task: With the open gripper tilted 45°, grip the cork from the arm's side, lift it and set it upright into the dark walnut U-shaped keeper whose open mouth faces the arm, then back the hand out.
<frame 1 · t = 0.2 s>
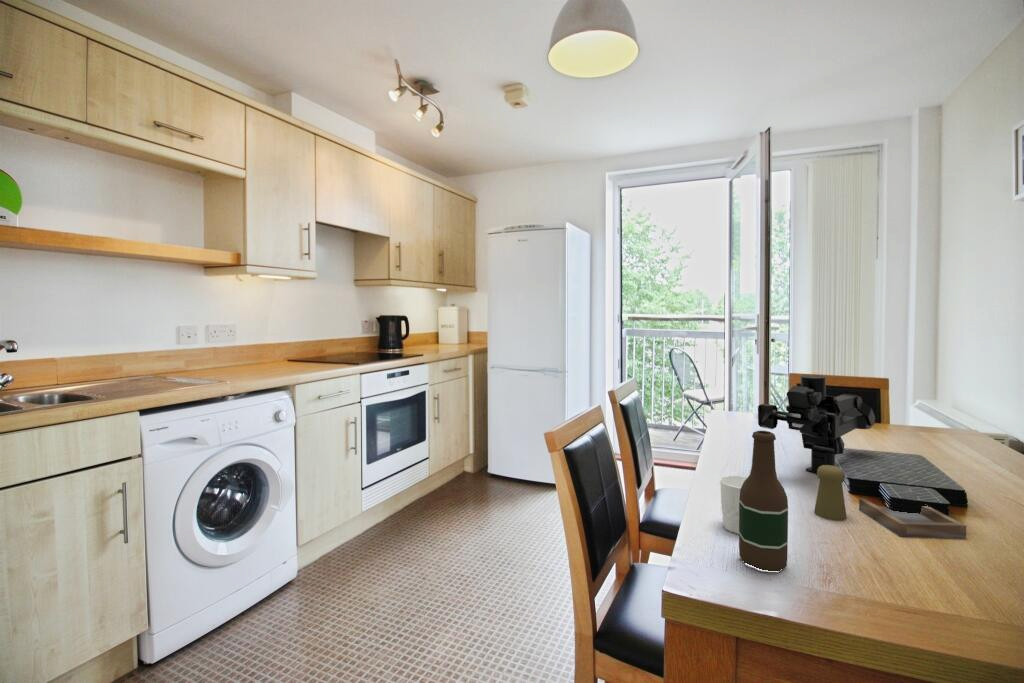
hand: (780, 427, 118), 17 cm above the table, tool horizontal, fingers open, 9 cm apart
cork: (830, 515, 105), on the table
white cup: (740, 529, 99), on the table
keeper: (906, 521, 101), on the table
beer bottle: (762, 563, 85), on the table
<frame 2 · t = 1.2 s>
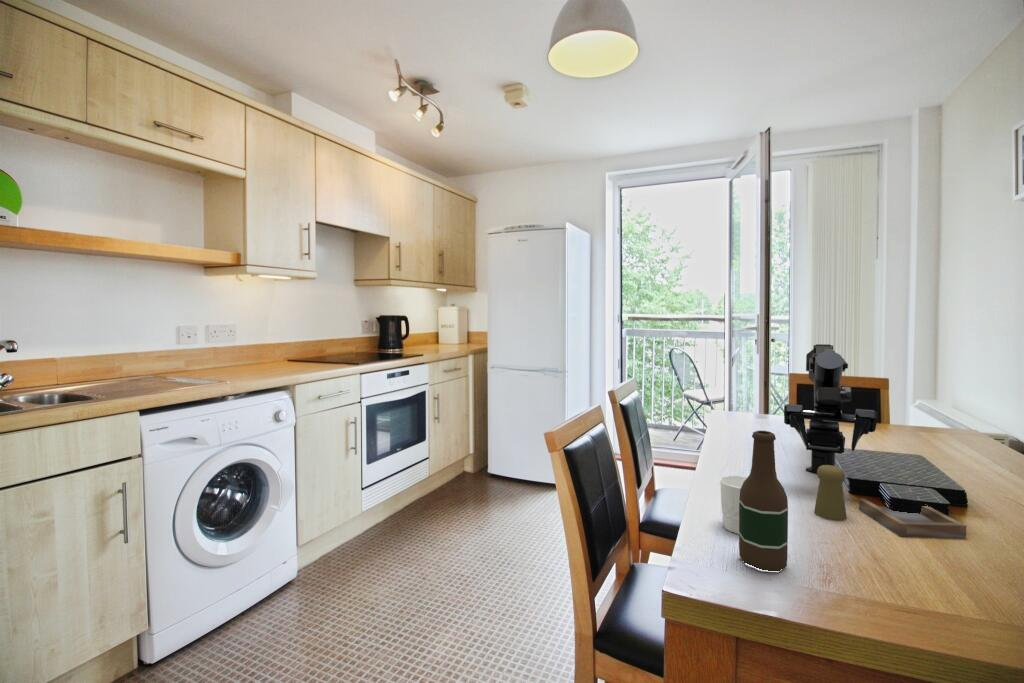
hand: (829, 447, 111), 13 cm above the table, tool tilted 45°, fingers open, 9 cm apart
nothing on the table moved.
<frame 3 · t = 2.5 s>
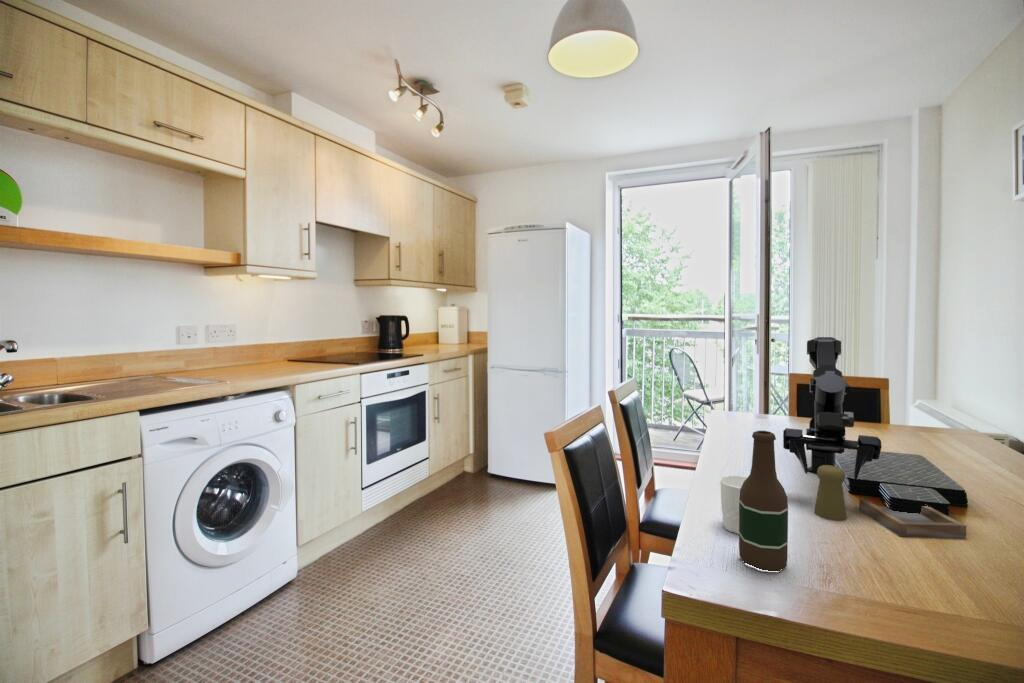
hand: (830, 475, 105), 9 cm above the table, tool tilted 45°, fingers open, 9 cm apart
nothing on the table moved.
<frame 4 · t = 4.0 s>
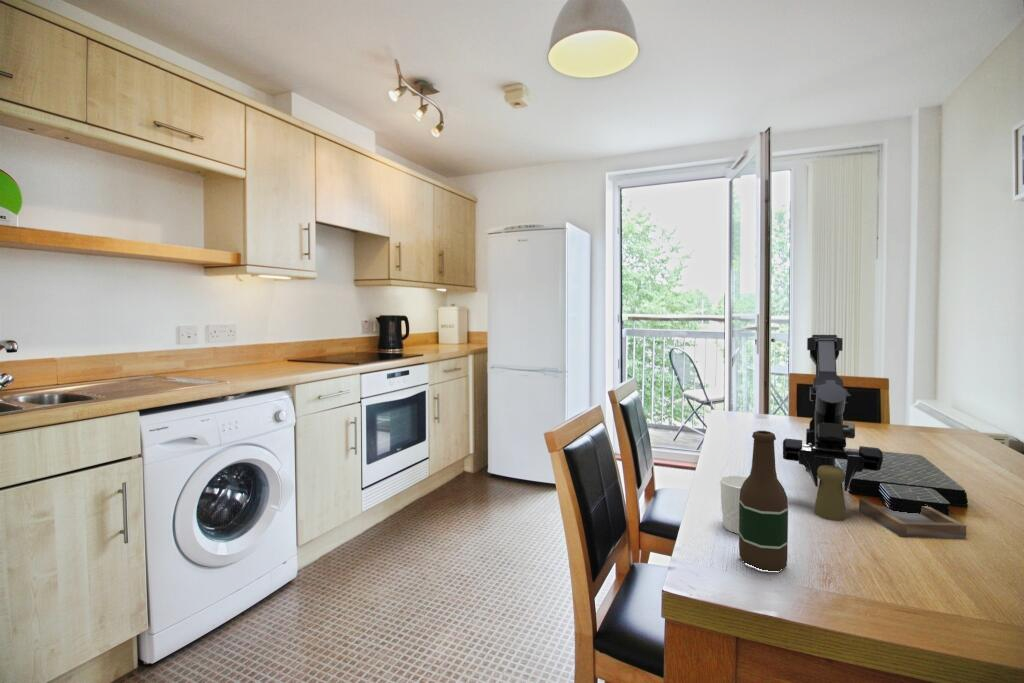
hand: (831, 487, 103), 7 cm above the table, tool tilted 45°, fingers closed on cork, 5 cm apart
cork: (830, 515, 105), on the table, touching gripper
everything else where it was.
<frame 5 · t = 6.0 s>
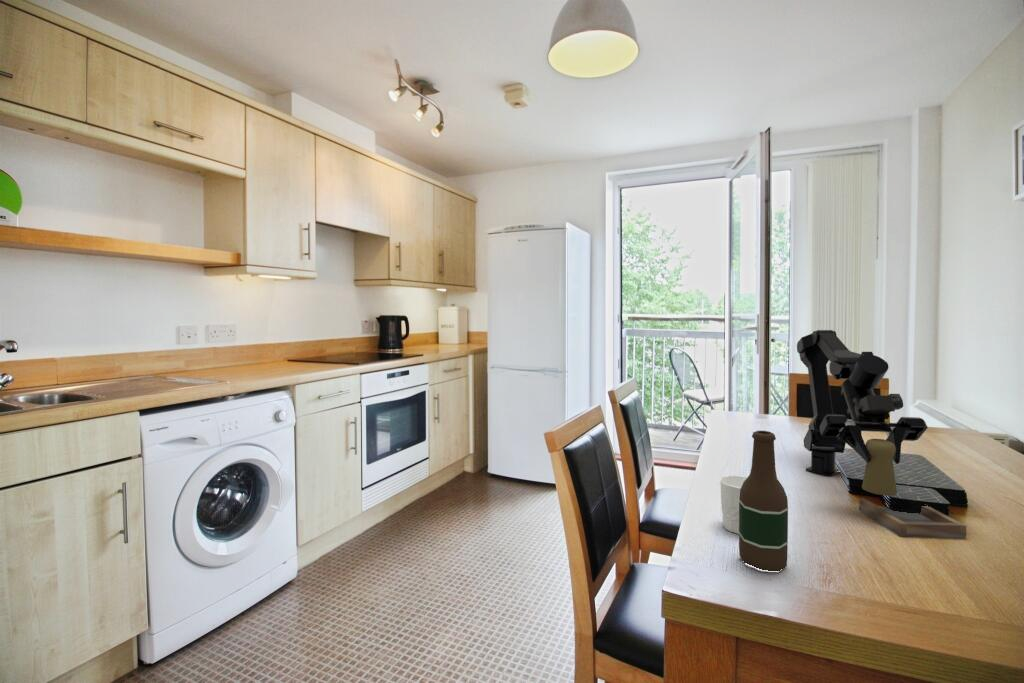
hand: (883, 462, 100), 13 cm above the table, tool tilted 45°, fingers closed on cork, 5 cm apart
cork: (879, 491, 101), point 6 cm above the table, touching gripper
everything else where it was.
when the fingers open (8 cm above the table, at t = 8.2 s): cork stays where it is, resting on keeper.
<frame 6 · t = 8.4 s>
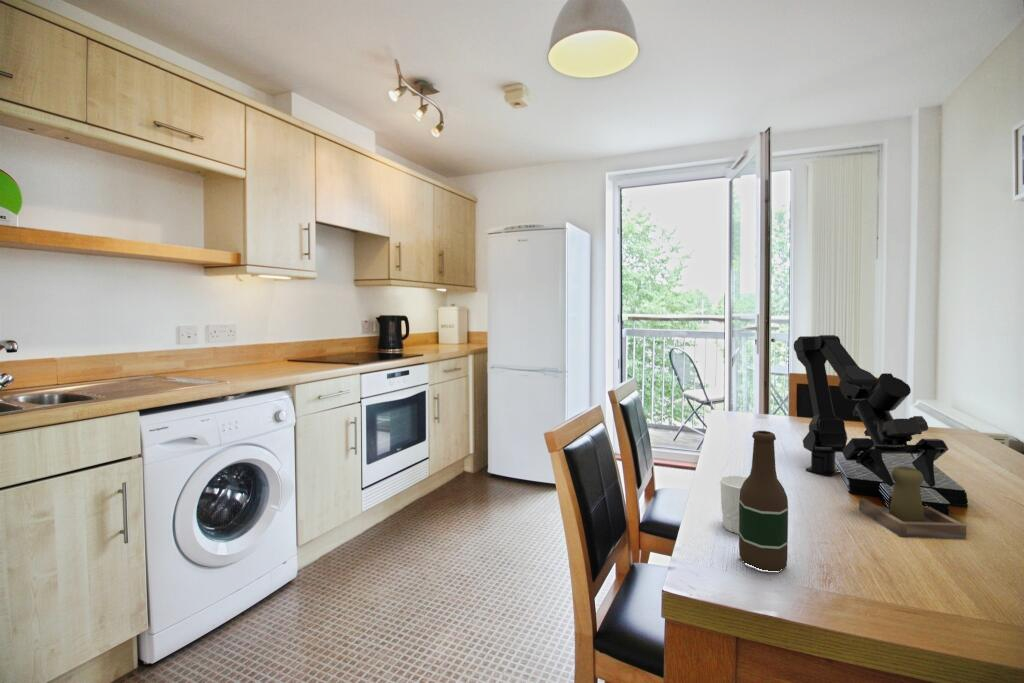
hand: (912, 486, 99), 8 cm above the table, tool tilted 45°, fingers open, 8 cm apart
cork: (906, 519, 101), resting on keeper
everything else where it was.
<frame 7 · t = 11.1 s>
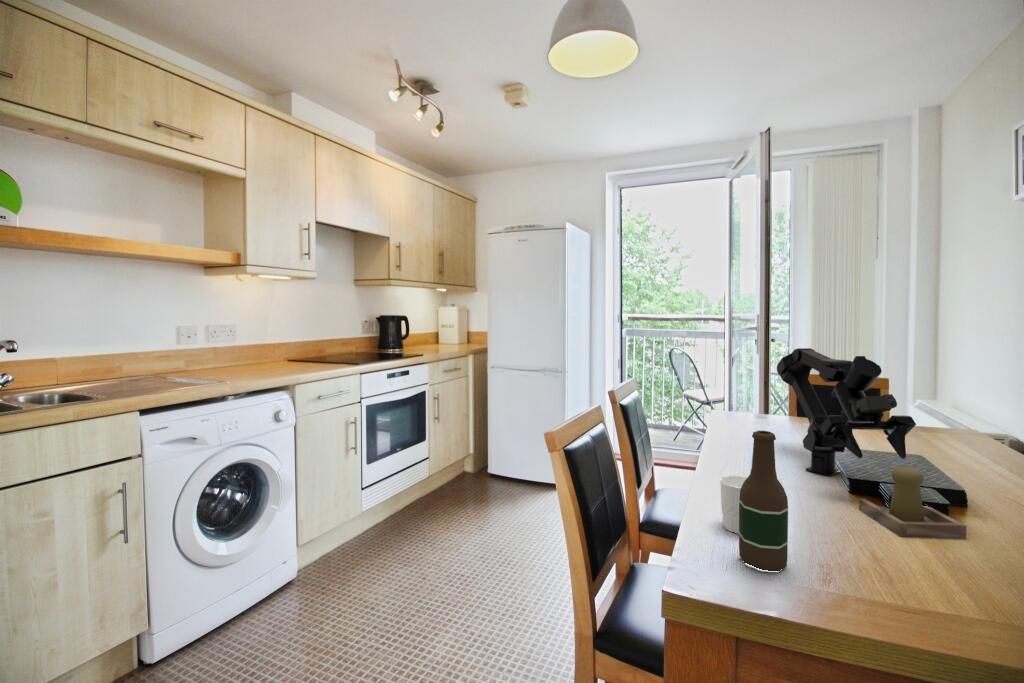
hand: (882, 457, 108), 12 cm above the table, tool tilted 45°, fingers open, 9 cm apart
nothing on the table moved.
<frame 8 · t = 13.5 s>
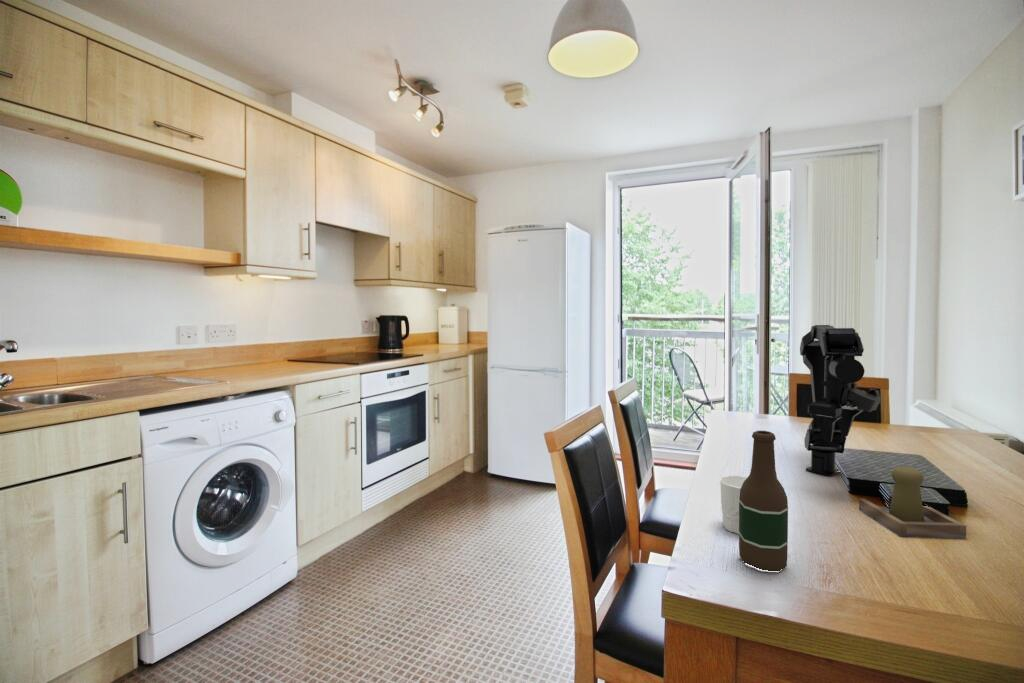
hand: (836, 439, 119), 13 cm above the table, tool pointing down, fingers open, 9 cm apart
nothing on the table moved.
at the end: cork 0.2 cm off-centre on the keeper, point 0.4 cm above the keeper's base; cork tilted 0°; the gripper is holding nothing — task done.
